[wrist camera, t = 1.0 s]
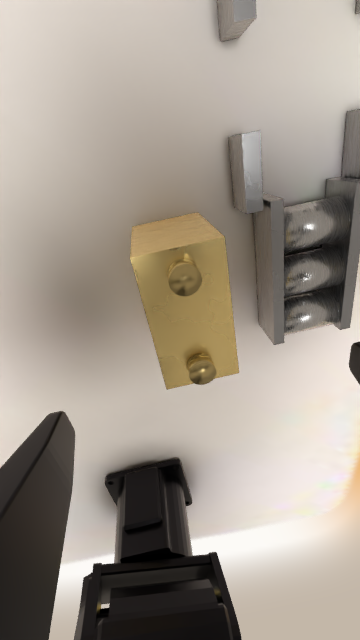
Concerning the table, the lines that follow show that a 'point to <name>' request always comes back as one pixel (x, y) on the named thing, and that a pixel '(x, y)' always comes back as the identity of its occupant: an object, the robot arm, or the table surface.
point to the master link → (186, 298)
